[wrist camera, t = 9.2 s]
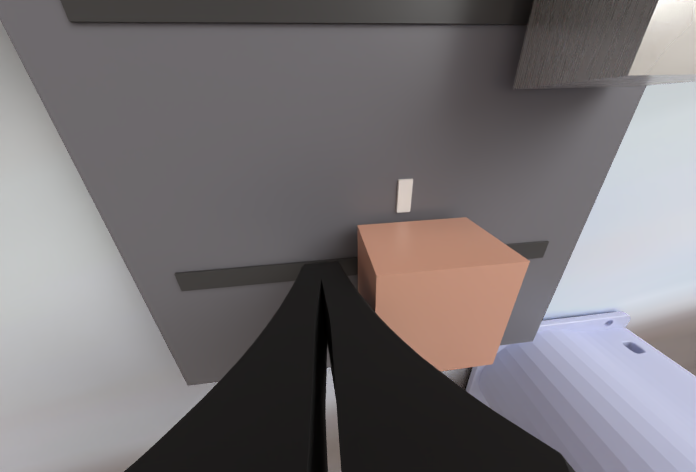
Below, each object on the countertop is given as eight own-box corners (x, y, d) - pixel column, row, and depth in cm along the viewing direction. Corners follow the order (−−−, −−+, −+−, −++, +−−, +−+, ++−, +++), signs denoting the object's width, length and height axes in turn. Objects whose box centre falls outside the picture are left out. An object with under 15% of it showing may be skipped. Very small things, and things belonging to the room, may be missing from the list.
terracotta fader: (466, 217, 9) (530, 261, 6) (448, 302, 11) (492, 364, 8) (357, 225, 9) (376, 275, 6) (358, 311, 10) (373, 380, 8)
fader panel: (743, -297, 6) (879, -426, 4) (513, 320, 15) (534, 342, 13) (-148, -434, 4) (-385, -714, 3) (200, 358, 13) (186, 387, 12)
